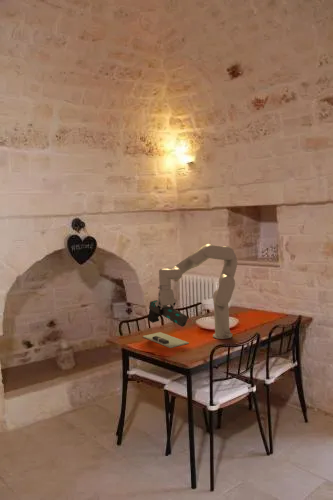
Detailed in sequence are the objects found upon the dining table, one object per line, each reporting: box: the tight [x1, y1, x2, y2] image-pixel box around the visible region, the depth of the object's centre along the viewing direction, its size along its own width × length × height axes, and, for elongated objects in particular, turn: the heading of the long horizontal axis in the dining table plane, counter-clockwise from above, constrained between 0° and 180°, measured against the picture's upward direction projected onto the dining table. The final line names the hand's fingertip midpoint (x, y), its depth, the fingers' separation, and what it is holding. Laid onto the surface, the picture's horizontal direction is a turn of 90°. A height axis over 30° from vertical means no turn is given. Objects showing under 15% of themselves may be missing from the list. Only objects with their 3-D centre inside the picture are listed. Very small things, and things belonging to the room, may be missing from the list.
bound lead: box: [153, 336, 169, 344], centre depth 311 cm, size 15×4×2 cm, turn 33°
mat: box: [142, 331, 190, 349], centre depth 315 cm, size 34×14×1 cm, turn 33°
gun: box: [147, 299, 189, 327], centre depth 315 cm, size 7×29×15 cm, turn 48°
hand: (166, 313), depth 315 cm, fingers closed on gun, 7 cm apart
